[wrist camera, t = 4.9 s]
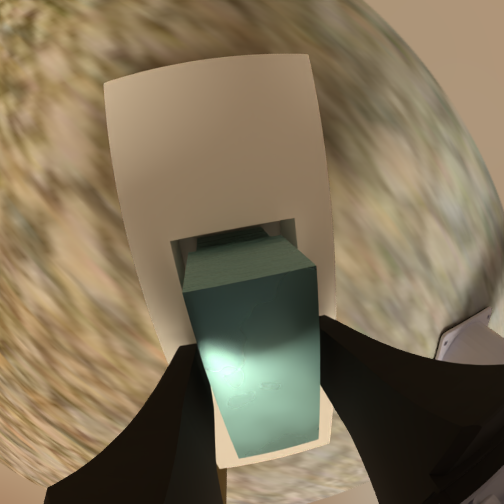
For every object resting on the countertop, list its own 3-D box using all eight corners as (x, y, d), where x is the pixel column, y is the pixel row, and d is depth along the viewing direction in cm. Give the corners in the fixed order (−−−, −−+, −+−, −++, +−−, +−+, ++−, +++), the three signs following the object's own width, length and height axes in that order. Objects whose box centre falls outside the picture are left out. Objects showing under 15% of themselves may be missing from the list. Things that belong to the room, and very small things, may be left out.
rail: (310, 402, 18) (329, 442, 14) (214, 424, 17) (219, 468, 13) (278, 83, 11) (308, 54, 8) (131, 106, 11) (103, 83, 7)
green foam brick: (281, 356, 14) (318, 438, 8) (223, 369, 13) (238, 458, 8) (264, 220, 11) (316, 265, 6) (191, 234, 11) (182, 292, 6)
